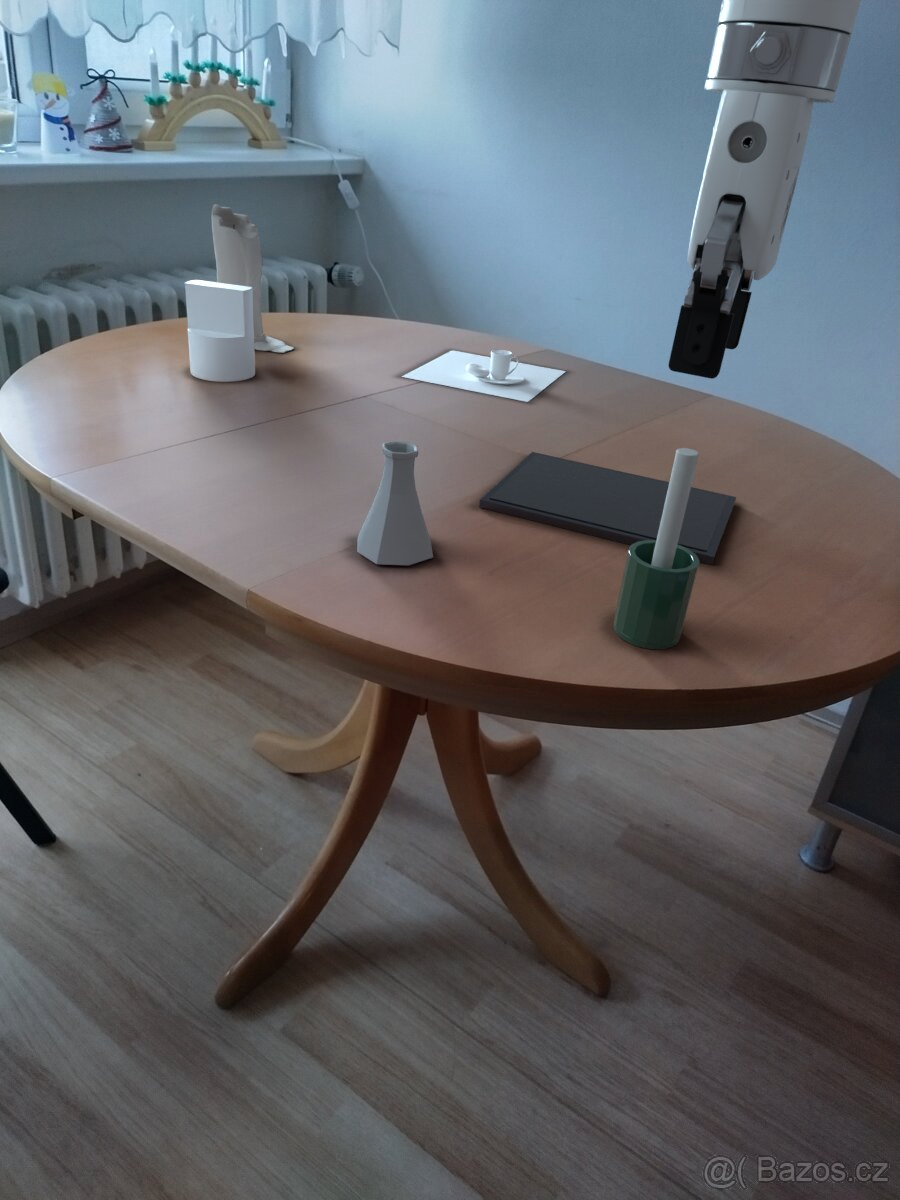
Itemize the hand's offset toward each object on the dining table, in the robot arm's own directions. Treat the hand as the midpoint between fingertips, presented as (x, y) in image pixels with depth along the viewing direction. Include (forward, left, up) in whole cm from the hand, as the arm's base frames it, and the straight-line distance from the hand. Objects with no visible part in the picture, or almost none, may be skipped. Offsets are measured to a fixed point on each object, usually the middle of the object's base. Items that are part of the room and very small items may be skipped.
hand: (704, 358), depth 59 cm
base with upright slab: (+70, -39, -22) cm, 83 cm away
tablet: (+9, -24, -22) cm, 34 cm away
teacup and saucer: (+39, -64, -22) cm, 78 cm away
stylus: (0, 0, -22) cm, 22 cm away
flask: (+24, -2, -22) cm, 33 cm away
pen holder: (0, 0, -22) cm, 22 cm away
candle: (+76, -56, -22) cm, 97 cm away
